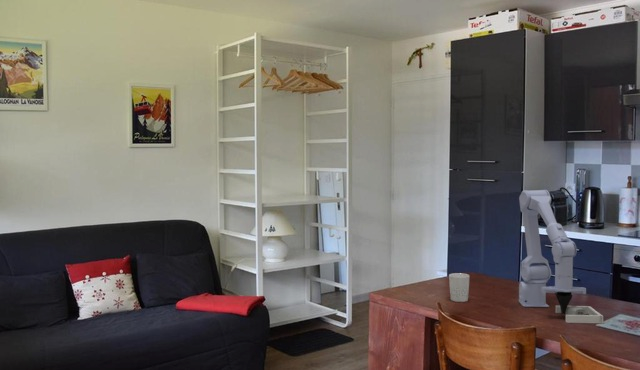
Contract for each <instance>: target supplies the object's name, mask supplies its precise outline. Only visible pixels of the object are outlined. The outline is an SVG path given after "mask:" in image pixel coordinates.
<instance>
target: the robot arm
mask: <svg viewBox="0 0 640 370" xmlns="http://www.w3.org/2000/svg"><path fill="white" fill-rule="evenodd" d="M518 199H519V201H518V202H519V207H520V212H521V213H522V218H523V227H524V236H525V246H526V255H527V256H526V257H525V258H524V259H522V261H521V267H520V277H521V279H523V281H519V284H518V285H519V286H518V302H519V303H520V305H521V306H522V307H527V308H528V307H530V308H533V307H534V308H550V305H548V303H546V302H547V301H546V299H547V298H546V297H547V296H546V294H554V295H555V297H556V299H557V301H558V304H559V306H560V308H561V313H560V314H562V315H566V314H567V313H566V309H567V306H569V303H570V301H572V299H573V294H583V295H587V288H586V287H581V286H580V287H579V286H573V281H574V280H573V279H574V278H573V275H574V273H573V271H574V270H573V269H574V268H573V266H574V258H575V257H576V255H577V251H578V250H577V245H576V243H575V241H573V240H572V239H570V238H568V235H567V233H566V231H565V229H564V227H563V225H562V224H561V223H559V222H557V219H556V217H555V215H554V212H553V209H552V207H551V204H552V196H551V194H550V192H549V191H548V190H547V189H538V190H537V189H536V190H535V189H534V190H532V189H531V190H527V189H524V190H522V191H521V193H520V195H519V198H518ZM538 215H540V217H541V218H542V219H543V222H544V223H545V225H546V229H545V231H546V234H547V236H548V239H549V241H550V243H551V245H552V246H551V247H552V248H551V255H552V256H553V262H554V266H555V267H554V271H555V272H554V285H549V286H547V284H546V283H548V282H549V280H550V278H551V276H552V269H551V267H550V265H549V260H548V259H546V258H545V257H544V256H543V255H542V253H543V252H542V246H541V237H540V228H539V218H538Z"/></svg>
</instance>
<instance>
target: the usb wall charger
mask: <svg viewBox="0 0 640 370" xmlns="http://www.w3.org/2000/svg"><path fill="white" fill-rule="evenodd" d="M577 306H578V305H568V307H567V310H566V312H567V313H566V315H586V314H585V309H582V308H579V307H577Z"/></svg>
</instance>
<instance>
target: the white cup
mask: <svg viewBox="0 0 640 370" xmlns="http://www.w3.org/2000/svg"><path fill="white" fill-rule="evenodd" d="M448 277H449V293H450V301H452V302H458V303H465V302H468V300H469V291H470V289H469V288H470V274H467V273H463V272H462V273H461V272H459V273H458V272H455V273H450V274H448Z"/></svg>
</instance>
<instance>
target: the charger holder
mask: <svg viewBox="0 0 640 370" xmlns="http://www.w3.org/2000/svg"><path fill="white" fill-rule="evenodd" d="M568 306H569V305H568ZM568 306H567V307H568ZM576 306H577V307H579V308H582V309H585V315H567V312H566V313H565V323H569V324H570V323H571V324H604V315H603V314H601V312H598V311H597V310H596V309H594V308H593V307H592V306H589V305H576ZM566 310H567V309H566ZM555 313H556V314H562V313H561V308H560V305H555Z"/></svg>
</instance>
